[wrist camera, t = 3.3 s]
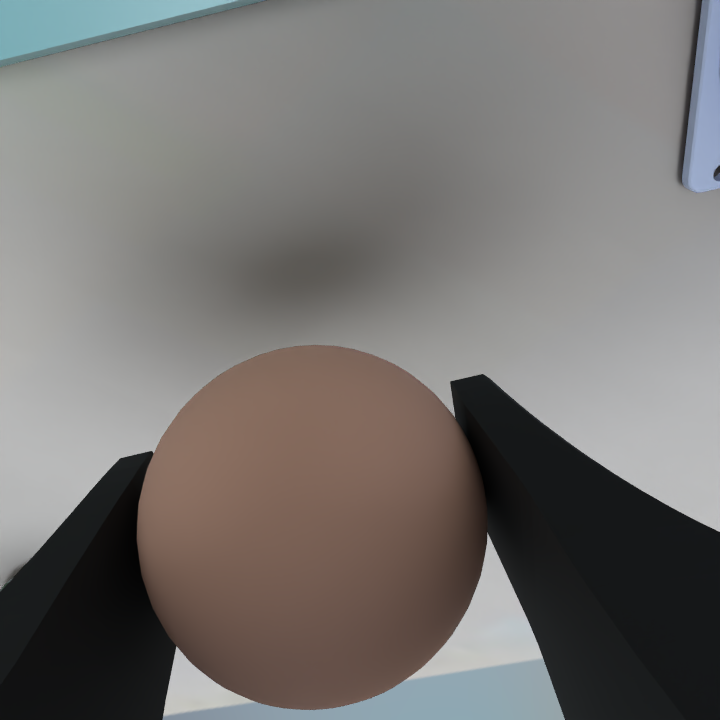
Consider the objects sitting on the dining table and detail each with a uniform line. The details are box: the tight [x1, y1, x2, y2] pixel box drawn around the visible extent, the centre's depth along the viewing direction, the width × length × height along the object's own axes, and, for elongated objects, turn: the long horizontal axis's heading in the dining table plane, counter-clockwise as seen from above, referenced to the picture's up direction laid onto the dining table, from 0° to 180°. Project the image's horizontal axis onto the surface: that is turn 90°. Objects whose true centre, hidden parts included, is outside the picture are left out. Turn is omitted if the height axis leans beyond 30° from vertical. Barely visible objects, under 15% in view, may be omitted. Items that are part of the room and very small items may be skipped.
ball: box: [137, 345, 488, 710], centre depth 9 cm, size 6×6×6 cm
